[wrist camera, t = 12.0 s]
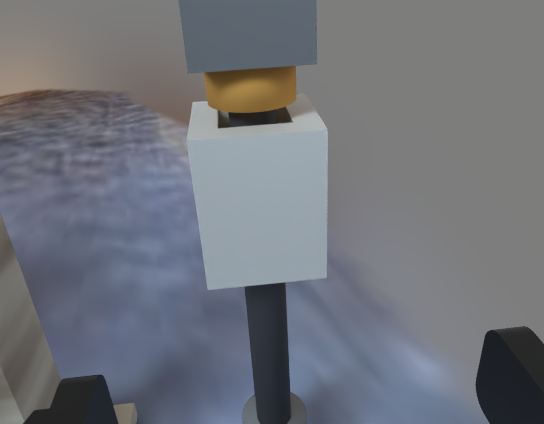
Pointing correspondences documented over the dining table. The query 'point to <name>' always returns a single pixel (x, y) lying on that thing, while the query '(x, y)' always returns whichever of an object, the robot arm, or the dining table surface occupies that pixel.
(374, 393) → the dining table surface
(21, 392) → the stand
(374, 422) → the dining table surface
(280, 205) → the sleeve
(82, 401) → the robot arm
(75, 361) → the dining table surface
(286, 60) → the dark grey piece
